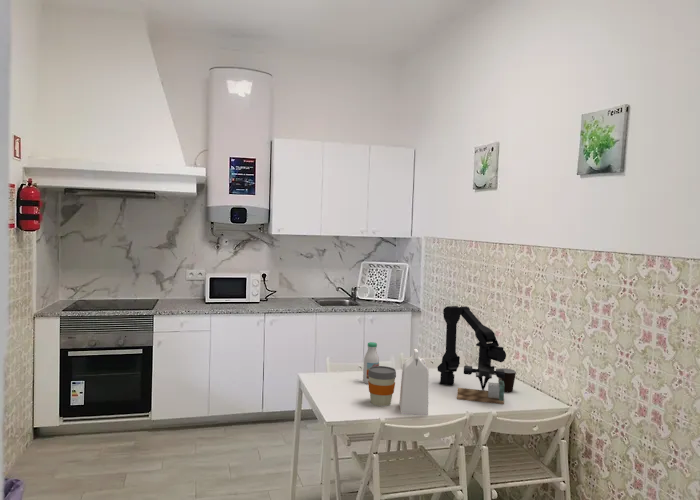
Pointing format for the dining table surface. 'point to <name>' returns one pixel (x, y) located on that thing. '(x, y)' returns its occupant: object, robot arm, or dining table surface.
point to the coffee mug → (508, 379)
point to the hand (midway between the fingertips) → (482, 389)
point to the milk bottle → (370, 360)
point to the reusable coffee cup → (381, 384)
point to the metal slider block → (493, 390)
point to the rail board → (477, 398)
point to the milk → (414, 386)
